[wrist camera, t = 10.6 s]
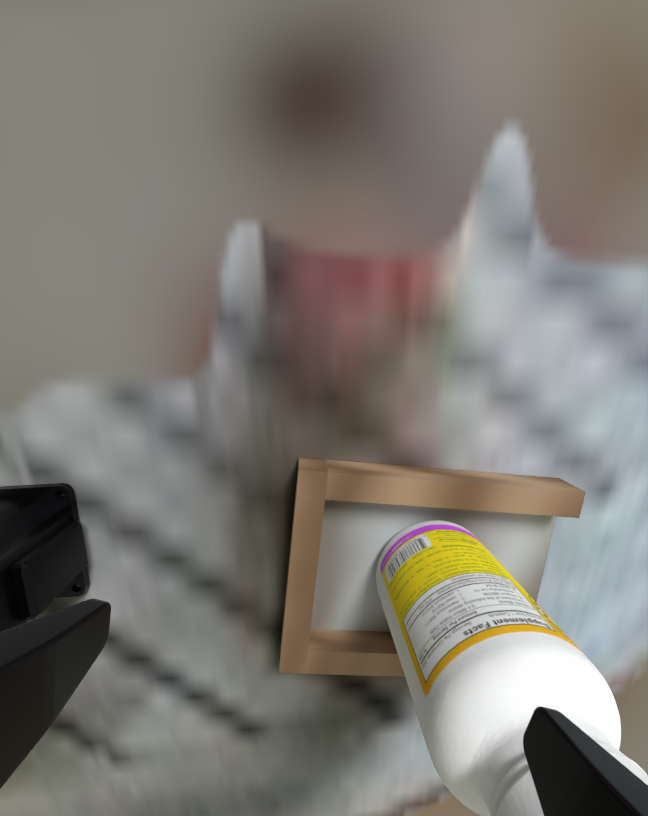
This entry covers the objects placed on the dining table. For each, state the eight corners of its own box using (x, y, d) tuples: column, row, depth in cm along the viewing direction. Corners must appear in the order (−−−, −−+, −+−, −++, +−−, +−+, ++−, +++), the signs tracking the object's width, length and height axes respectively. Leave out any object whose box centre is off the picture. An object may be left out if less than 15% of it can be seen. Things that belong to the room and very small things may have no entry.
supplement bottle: (474, 616, 23) (695, 964, 10) (368, 615, 22) (460, 981, 10) (490, 515, 21) (763, 766, 9) (378, 512, 21) (498, 773, 8)
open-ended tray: (280, 643, 23) (278, 672, 21) (298, 457, 20) (298, 469, 18) (519, 652, 24) (539, 681, 22) (559, 478, 22) (585, 491, 20)
